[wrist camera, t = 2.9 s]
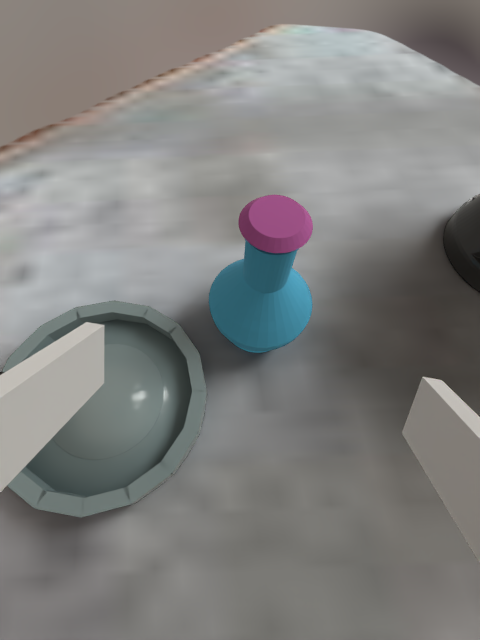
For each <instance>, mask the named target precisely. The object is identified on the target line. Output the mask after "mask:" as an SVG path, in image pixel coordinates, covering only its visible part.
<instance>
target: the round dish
mask: <svg viewBox="0 0 480 640" xmlns="http://www.w3.org/2000/svg"><path fill="white" fill-rule="evenodd" d="M86 322H89V323H95V324H101V325H104V384H103V385H102V386H101V387H100V388H99V389H98V390H97V391H96V392H95V393H94V394H93V395H92V396H91V397H90V398H89V400H88V401H87V402H86V403H85V404H84V405H83V406H82V407H81V408H80V409H79V410H78V411H77V412H76V413H75V414H74V415H73V416H72V417H71V419H70V420H69V421H68V422H67V423H66V424H65V425H64V426H63V427H62V428H61V429H60V430H59V431H58V432H57V433H56V434H55V435H54V436H53V438H52V439H51V440H50V441H49V442H48V443H47V444H46V445H45V446H44V447H43V448H42V449H41V450H40V451H39V452H38V453H37V454H36V455H35V456H34V458H33V459H32V460H31V461H30V462H29V463H28V464H27V465H26V466H25V467H24V468H23V469H22V470H21V471H20V472H19V473H18V474H17V475H16V477H15V478H14V479H13V480H12V481H11V482H10V483H9V484H8V485H7V486H8V487H9V488H10V489H11V490H13V491H14V492H15V493H16V494H17V495H19V496H20V497H21V498H22V499H23V500H25V501H26V502H27V503H28V504H30V505H31V506H32V507H33V508H35V509H38V510H44V511H49V512H54V513H60V514H65V515H71V516H76V517H85V516H89V515H93V514H96V513H100V512H104V511H108V510H112V509H115V508H119V507H123V506H127V505H131V504H134V503H137V502H138V501H139V500H141V499H142V498H143V497H145V496H146V495H147V494H149V493H151V492H152V491H154V490H155V489H157V488H158V487H159V486H160V485H162V484H163V483H164V482H165V481H166V480H167V479H169V478H170V477H171V476H173V475H174V474H175V473H176V471H177V469H178V468H179V467H180V466H181V464H182V463H183V461H184V460H185V459H186V457H187V456H188V454H189V453H190V451H191V449H192V447H193V445H194V444H195V442H196V440H197V438H198V437H199V435H200V430H201V426H202V422H203V418H204V414H205V406H206V400H207V389H206V384H205V378H204V374H203V369H202V363H201V358H200V354H199V352H198V350H197V349H196V347H195V346H194V345H193V343H192V342H191V340H190V339H189V338H188V336H187V335H186V333H185V332H184V330H183V329H182V328H181V326H180V325H179V324H178V323H176V322H175V321H173V320H171V319H170V318H168V317H166V316H165V315H163V314H161V313H160V312H158V311H156V310H155V309H153V308H151V307H149V306H144V305H138V304H132V303H126V302H119V301H109V302H103V303H98V304H92V305H87V306H81V307H76V308H74V309H72V310H70V311H68V312H66V313H64V314H62V315H61V316H59V317H57V318H55V319H53V320H51V321H49V322H47V323H45V324H43V325H42V326H40V327H41V328H40V327H39V328H38V329H37V330H36V331H35V332H34V333H33V334H32V335H31V336H30V337H29V338H28V339H27V340H26V341H25V342H24V343H23V344H22V345H21V346H20V347H19V348H18V349H17V350H16V351H15V352H14V353H13V354H12V355H11V356H10V358H8V360H7V362H6V364H5V366H4V368H3V370H2V372H6V371H8V370H10V369H11V368H13V367H14V366H16V365H18V364H19V363H21V362H23V361H24V360H26V359H27V358H29V357H31V356H32V355H34V354H36V353H37V352H39V351H40V350H42V349H44V348H45V347H47V346H48V345H50V344H52V343H53V342H55V341H57V340H58V339H60V338H61V337H63V336H65V335H66V334H68V333H70V332H71V331H73V330H74V329H76V328H78V327H79V326H81V325H83V324H84V323H86Z"/></svg>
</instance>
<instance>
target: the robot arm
mask: <svg viewBox="0 0 480 640" xmlns="http://www.w3.org/2000/svg"><path fill="white" fill-rule="evenodd" d="M444 245H445V249H446V253H447V255H448V257H449V259H450V261H451V263H452V265H453V266H454V268H455V269H456V270H457V272H458V273H459V274H460V275H461V276H462V277H463V278H464V279H465V280H466V281H467V282H468V283H469V284H470V285H471V286H472V287H474V288H475V289H476V290H478V291H479V292H480V194H478V195H476V196H475V197H473V198H471V199H470V200H468V201H467V202H466V203H464V204H463V205H462V206H461V207H460V208H459V209H458V211H457V212H456V213H455V214H454V215H453V216H452V217H451V219H450V220H449V221H448V223H447V225H446V227H445V231H444ZM103 384H104V325H101V324H95V323H89V322H86V323H84V324H83V325H81V326H79V327H78V328H76V329H74V330H73V331H71V332H70V333H68V334H66V335H65V336H63V337H61V338H60V339H58V340H57V341H55V342H53V343H52V344H50V345H48V346H47V347H45V348H44V349H42V350H40V351H39V352H37V353H36V354H34V355H32V356H31V357H29V358H27V359H26V360H24V361H23V362H21V363H19V364H18V365H16V366H14V367H13V368H11V369H10V370H8V371H6V372H0V492H1V491H2V490H3V489H4V488H5V487H6V486H7V485H8V484H9V483H10V482H11V481H12V480H13V479H14V478H15V477H16V475H17V474H18V473H19V472H20V471H21V470H22V469H23V468H24V467H25V466H26V465H27V464H28V463H29V462H30V461H31V460H32V459H33V458H34V456H35V455H36V454H37V453H38V452H39V451H40V450H41V449H42V448H43V447H44V446H45V445H46V444H47V443H48V442H49V441H50V440H51V439H52V438H53V436H54V435H55V434H56V433H57V432H58V431H59V430H60V429H61V428H62V427H63V426H64V425H65V424H66V423H67V422H68V421H69V420H70V419H71V417H72V416H73V415H74V414H75V413H76V412H77V411H78V410H79V409H80V408H81V407H82V406H83V405H84V404H85V403H86V402H87V401H88V400H89V398H90V397H91V396H92V395H93V394H94V393H95V392H96V391H97V390H98V389H99V388H100V387H101V386H102V385H103ZM402 434H403V436H404V438H405V439H406V441H407V443H408V444H409V446H410V448H411V449H412V451H413V453H414V454H415V456H416V458H417V459H418V461H419V463H420V464H421V466H422V468H423V469H424V471H425V473H426V474H427V476H428V478H429V479H430V481H431V483H432V485H433V486H434V488H435V490H436V491H437V493H438V495H439V496H440V498H441V500H442V501H443V503H444V505H445V506H446V508H447V510H448V511H449V513H450V515H451V516H452V518H453V520H454V521H455V523H456V525H457V526H458V528H459V530H460V531H461V533H462V535H463V536H464V538H465V540H466V541H467V543H468V545H469V546H470V548H471V550H472V551H473V553H474V555H475V556H476V558H477V560H478V561H479V563H480V417H479V416H478V415H477V414H476V413H475V412H474V411H473V410H472V409H471V408H470V407H469V406H468V405H467V404H466V403H465V402H464V401H463V400H462V399H461V398H460V397H459V396H458V395H457V394H456V393H454V392H453V391H452V390H451V389H450V388H449V387H448V386H447V385H446V384H445V383H444V382H443V381H442V380H439V379H433V378H427V377H422V379H421V382H420V385H419V388H418V390H417V393H416V396H415V399H414V401H413V404H412V407H411V409H410V412H409V415H408V418H407V420H406V423H405V426H404V428H403V431H402Z"/></svg>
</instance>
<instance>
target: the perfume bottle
mask: <svg viewBox="0 0 480 640" xmlns="http://www.w3.org/2000/svg"><path fill="white" fill-rule="evenodd" d="M239 228H240V231H241V233H242V235H243V237H244V238H245V241H246V243H245V255H244V259H242V260H239V261H236V262H234V263H232V264H230V265H228V266H227V267H226V268H225V269H223V270H222V271H221V272H220V273H219V274H218V276H217V277H216V278H215V280H214V282H213V284H212V286H211V289H210V293H209V307H210V312H211V315H212V318H213V320H214V323H215V325H216V326H217V328H218V329H219V331H220V332H221V333H222V334H223V335H224V336H225V337H226V338H227V339H228V340H229V341H231V342H232V343H234V344H235V345H236V346H237V347H239V348H240V349H243V350H245V351H248V352H253V353H261V352H267V351H270V350H274V349H277V348H280V347H282V346H285V345H287V344H288V343H290V342H291V341H293V340H294V339H295V338H296V337H297V336H298V335H299V334H300V333H301V332H302V331H303V330H304V328H305V327H306V325H307V323H308V322H309V319H310V316H311V312H312V297H311V293H310V290H309V287H308V286H307V284H306V282H305V280H304V279H303V278H302V277H301V276H300V274H299V273H298V272H296V271H295V270H294V269H293V268H292V265H293V262H294V259H295V256H296V252H297V250H298V249H299V248H300V247H302V246H303V245H304V244H305V243H307V241H308V240H309V238H310V236H311V234H312V230H313V224H312V220H311V217H310V215H309V213H308V212H307V211H306V210H305V208H304V207H303V206H301V205H300V204H299V203H297V202H296V201H294V200H293V199H291V198H288V197H285V196H281V195H268V196H264V197H260V198H257V199H255V200H253V201H251V202H250V203H248V204H247V205H246V206H245V207H244V208H243V210H242V211H241V213H240V216H239Z"/></svg>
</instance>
